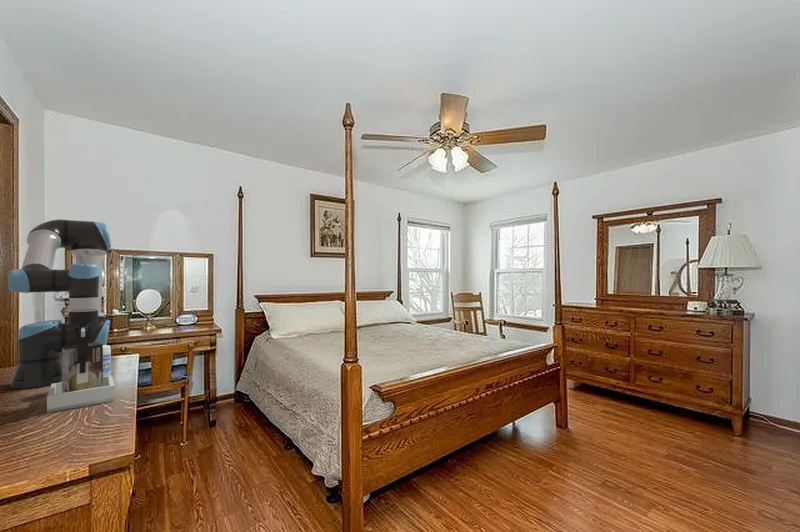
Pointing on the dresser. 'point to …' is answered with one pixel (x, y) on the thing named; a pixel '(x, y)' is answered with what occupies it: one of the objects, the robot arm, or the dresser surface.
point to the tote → (79, 396)
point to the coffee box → (71, 369)
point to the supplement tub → (106, 360)
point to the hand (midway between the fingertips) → (82, 379)
